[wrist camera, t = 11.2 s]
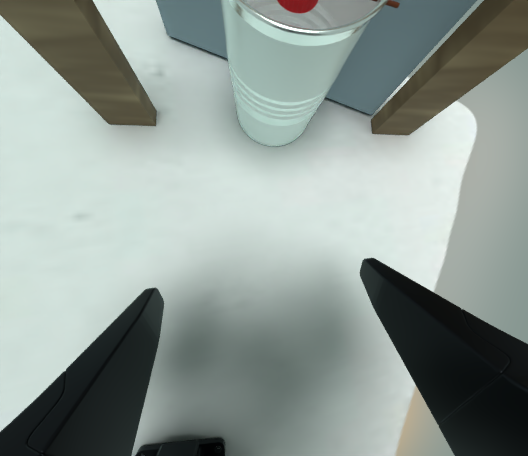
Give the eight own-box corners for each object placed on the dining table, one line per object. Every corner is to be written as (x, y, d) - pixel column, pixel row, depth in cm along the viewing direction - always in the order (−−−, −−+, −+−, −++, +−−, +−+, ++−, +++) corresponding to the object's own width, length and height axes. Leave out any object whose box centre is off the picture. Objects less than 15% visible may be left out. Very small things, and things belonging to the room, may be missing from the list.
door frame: (408, 135, 23) (1020, -312, 5) (109, 124, 20) (-1162, -1153, 2) (407, 121, 23) (990, -356, 5) (110, 108, 20) (-1028, -1177, 2)
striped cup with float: (210, 139, 20) (161, -10, 9) (233, 58, 21) (217, -181, 9) (312, 166, 21) (399, 63, 9) (331, 87, 22) (432, -103, 10)
